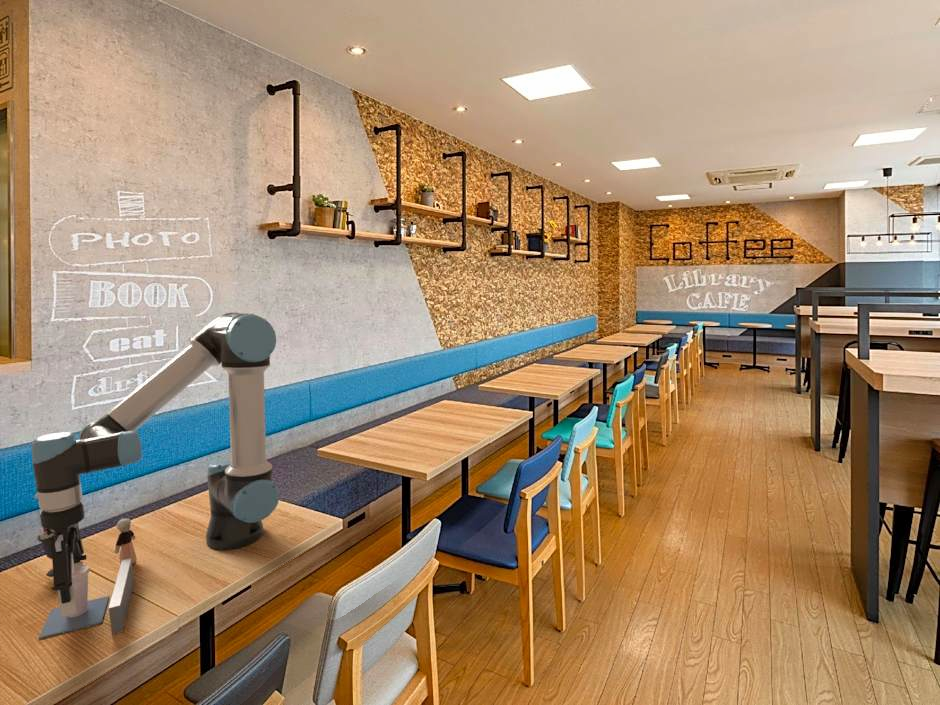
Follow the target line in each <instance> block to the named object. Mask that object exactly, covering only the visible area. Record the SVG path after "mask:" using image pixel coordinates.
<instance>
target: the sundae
mask: <svg viewBox="0 0 940 705" xmlns="http://www.w3.org/2000/svg"><path fill="white" fill-rule="evenodd" d="M42 530H43V531H41V533H40V534H39V535H38V536H37V537H36V538H37V539H36V540H37V541H38V542H40V543H41V544H42V547H43V550H44V553H45V555H46V557H47V558H49V559H51V560H52V552H51V547H50V545H51V543H52V535H54V532H55V531H54V530H51V529H44V528H43V527H42ZM49 570H50V571H49ZM49 570H48V571H47V572H48V573H47V572H46V576H48V575H53V568H51V569H49Z"/></svg>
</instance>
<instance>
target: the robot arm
mask: <svg viewBox="0 0 940 705" xmlns="http://www.w3.org/2000/svg"><path fill="white" fill-rule="evenodd" d="M189 341H190V342H189V345H188V346H187V347H185V348H184V349H183V350H182V351H181V352H180V353H178V354H177V355H176V356H175V357H174V358H172V359H171V360H170V361H169V362H167V363H166V364H165V365H164V366H163V367H161V368H160V369H159V370H158V371H157V372H155V373H154V374H153V375H152V376H151V377H149V378H148V379H147V380H145V381H144V382H143V383H142V384H141V385H140V386H138V387H137V388H135V390H133V391H132V392H131V393H130V394H128V395H127V396H126V397H125V398H124V399H122V400H121V401H120V402H119V403H117V404H116V405H115V406H114V407H112V409H110V410H109V411H108V412H107V413H106V414H105V415H103V416H101V417H100V418H99V419H98V420H95V421H91V422H89V423H87V424H85V426H83V428H82V429H81V430H80V432H79V435H78V436H79V439H76V438H75V434H73V433H72V432H68V431H64V432H63V431H62V432H54V433H48V434H44V435H41V436H39V437H36V438H35V439H34V440H32V442H31V448H30V449H31V462H32V469H33V475H34V480H35V487H36V493H35V494H34V496H33V497H34V499H35V500H36V499H38V501H37V502H38V506H39V507H38V508H39V509H40V511H39V518H40V519H39V520H40V525H41V527H42V529H43V528H44V529H51V530H54V531H55V532H54V535H52V543H51V545H50V547H51V552H52V559H51V561H52V569H53V576H52V580H53V587H51V590H52V591H53V592H57V597H58V604H59V607H60V612H61V617H64V616H68V615H72V614H76V613H77V605H76V597H75V590H74V583H72V553H73V560H74V566H77V565H84V563H83V562H84V561H86V560H87V554H84V553H85V550H84V546H83V542H82V536H81V531H80V527H79V523H80V522H81V521H82V520H84V519H85V509H84V502H83V501H82V500H83V498H84V497H83V490H82V483H81V478H80V475H85V474H89V473H94V472H99V471H104V470H109V469H115V468H119V467H126V466H127V465H131V464H135V463H138V462H139V461H141V460H142V456H143V448H142V442H141V438H140V436H139V433H138V431H137V430H138V429H139V428H140V427H142V426H143V425H145V423H146V422H147V421H149V420H150V419H151V418H152V417H153V416H155V415H156V414H157V413H158V412H159V411H160V410H161V409H163V408H164V407H165V406H166V405H168V404H169V403H170V402H171V401H172V400H173V399H174V398H175V397H177V396H178V395H179V394H180V393H181V392H183V391H184V390H185V389H186V388H187V387H189V385H191V384H192V383H193V382H194V381H195V380H197V379H198V378H199V377H201V375H202V374H203V373H205V372H206V371H207V370H208V369H209V368H211V367H212V366H215V367H218V366H219V365H220V364H221V368H222V369H223V370H225V371H226V372H227V374H228V402H229V403H228V404H229V408H228V409H229V410H228V411H229V433H230V434H229V436H230V457H227V458H223V459H219V460H216V461H213V462H211V463H210V464H209V465H208V466H207V468H206V478H207V487H208V488H207V489H208V497H209V498H208V499H209V509H210V518H209V522H208V526H207V531H206V534H205V539H206V540H205V541H206V545H207V546H208V547H210V548H211V549H214V550H232V549H233V550H234V549H238V548H242V547H245V546H248V545H251V544H253V543H254V542H256V541H258V540H259V539H260V538H262V536H263V535H264V524H263V520H265V519H267V518H268V517H269V516H271V514H272V512H274V511H275V510H276V508H277V507H278V505H279V501H280V490H279V488H278V486H277V484H275V483H274V480H273V464H272V463H271V462H269V461H268V460H267V454H266V451H267V450H266V449H267V448H266V411H265V410H266V409H265V408H266V406H265V372H266V370H267V369H268V368H269V367H270V366H271V360H270V359H271V355H272V354H273V352H274V350H275V348H276V346H277V345H276V344H277V336H276V332H275V329H274V327H273V325H271V323H270V322H269V321H268V320H266V319H265V318H263V317H262V316H259V315H256V314H254V313H238V312H228V313H224V314H221V315H219V316H218V317H216V318H215V319H213V320H212V321H211V322H209V324H206V326H204V328H202V330H200V331H199V332H198V333H197V334H195V335H194V336H193V337H192V338H191V339H190V340H189Z"/></svg>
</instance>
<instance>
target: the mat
mask: <svg viewBox="0 0 940 705" xmlns="http://www.w3.org/2000/svg"><path fill="white" fill-rule="evenodd" d="M109 599H110V596H109V595H107V596H102V597H99V598H95V599H94V598H93V599H90V600H87V611H86V612H85V613H84V614H82V615H80V616H77V617H73V618H69V617H67V616H64V617H61V612H60V606H59V607H56V608H51V610H50V612H49V613H48V615H47V618H46V621H45V623H44V626H43V627H42V630H41V632H40V634H39V636H38V640H42V639H45V637H46V638H49V636H50V637H53V636H52V635H54V636H57V635H56V634H58V635H61V634H60V633H62V634H64V633H63V632H66V633H69V632H68V631H70V632H72V631H71V630H74V631H78V630H81V629H80V628H82V629H85V627H86V628H89V627H88V626H90V627H93V625H94V626H97V625H96V624H98V625H101V624H100V623H102V624H103V621H104V618H105V614H106V611H105V610H107V606H108V603H109ZM103 617H104V618H103ZM77 629H78V630H77ZM41 638H42V639H41Z"/></svg>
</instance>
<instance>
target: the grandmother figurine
mask: <svg viewBox="0 0 940 705" xmlns="http://www.w3.org/2000/svg"><path fill="white" fill-rule="evenodd" d="M131 524H132V521H131V519H129V518H121V519H119V521H118V522H117V523H116V525H115V526H116V529H117V530H118V531H119V532H120V533H119V535H118V538H117V540H116V543H115V549H114V553H115V554H119V565H121V561H122V560H126V559H131V560H132V566H133V565H135V564H136V563H137V560H138V558H137V555H136V554H137V553H136V551H135V548H134V544H133V541H134V540H135V539H136V535H135V533H134V532H133V530H132V529H131ZM118 569H120V567H118Z"/></svg>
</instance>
